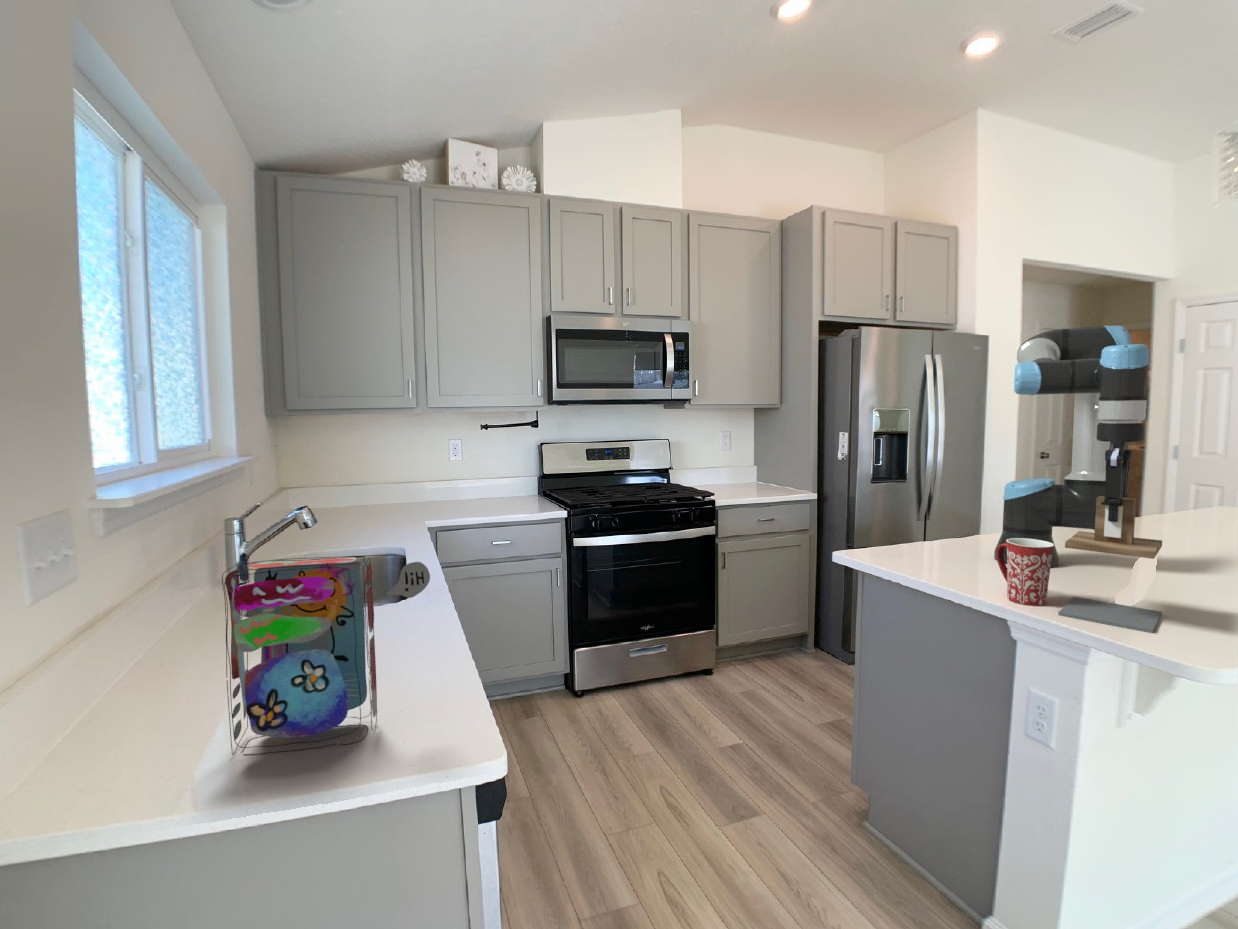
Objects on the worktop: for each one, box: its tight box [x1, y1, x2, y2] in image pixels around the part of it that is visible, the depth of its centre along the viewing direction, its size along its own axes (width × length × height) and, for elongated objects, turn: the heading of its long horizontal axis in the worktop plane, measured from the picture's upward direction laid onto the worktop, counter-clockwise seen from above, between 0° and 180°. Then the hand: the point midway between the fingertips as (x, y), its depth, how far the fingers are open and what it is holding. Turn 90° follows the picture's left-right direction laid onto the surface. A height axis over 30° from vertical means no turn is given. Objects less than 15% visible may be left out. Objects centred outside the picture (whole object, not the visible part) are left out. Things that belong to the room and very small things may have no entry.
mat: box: [1057, 596, 1163, 634], centre depth 127 cm, size 15×15×1 cm
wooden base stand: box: [1064, 496, 1163, 560], centre depth 126 cm, size 14×14×10 cm
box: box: [221, 555, 431, 756], centre depth 83 cm, size 25×6×24 cm, turn 102°
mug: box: [996, 538, 1055, 607], centre depth 138 cm, size 13×9×14 cm
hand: (1113, 535), depth 126 cm, fingers closed on wooden base stand, 3 cm apart
